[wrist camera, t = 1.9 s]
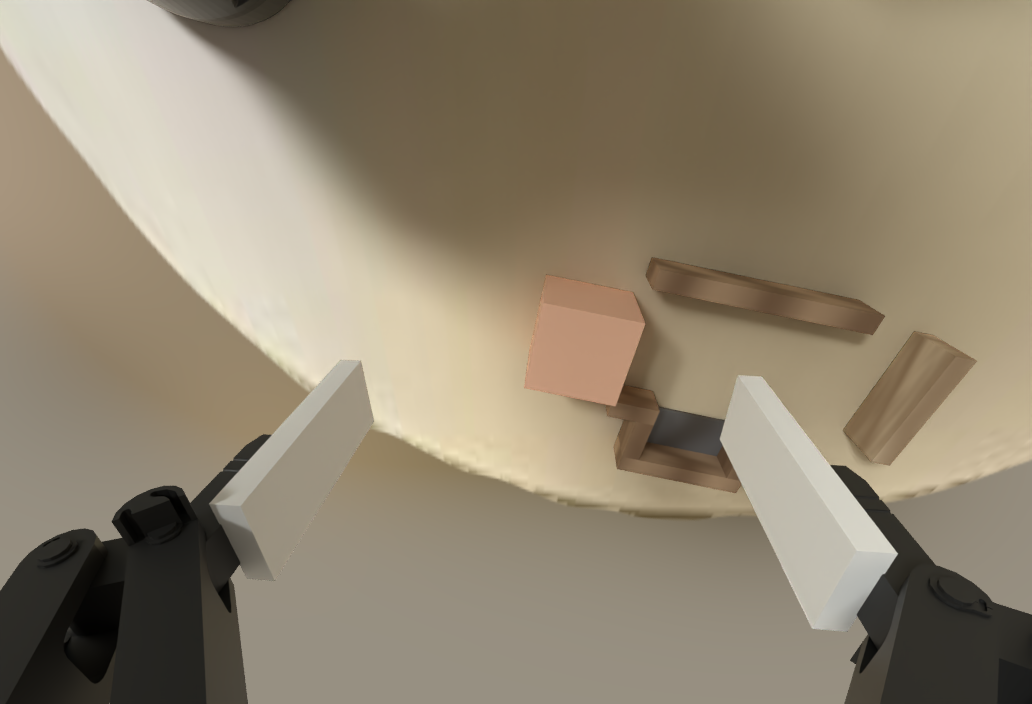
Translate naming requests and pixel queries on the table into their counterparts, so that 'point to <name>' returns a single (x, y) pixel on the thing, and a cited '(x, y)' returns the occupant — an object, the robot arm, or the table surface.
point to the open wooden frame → (897, 395)
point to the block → (583, 340)
